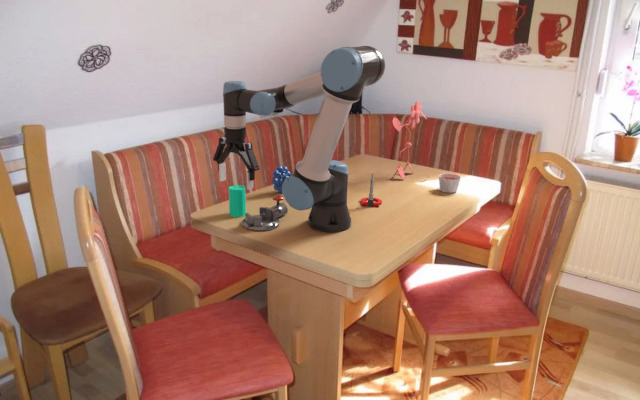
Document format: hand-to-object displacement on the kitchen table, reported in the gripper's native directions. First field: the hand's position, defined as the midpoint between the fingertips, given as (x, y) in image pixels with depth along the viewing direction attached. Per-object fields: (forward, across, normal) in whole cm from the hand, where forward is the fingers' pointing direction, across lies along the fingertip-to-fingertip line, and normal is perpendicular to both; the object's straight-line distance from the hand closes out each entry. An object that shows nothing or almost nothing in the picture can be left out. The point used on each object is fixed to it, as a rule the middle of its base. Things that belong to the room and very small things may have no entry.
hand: (236, 184), depth 197 cm
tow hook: (+11, -33, -42) cm, 54 cm away
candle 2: (+11, -51, -76) cm, 92 cm away
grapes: (+12, +1, -29) cm, 31 cm away
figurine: (+11, -30, -83) cm, 89 cm away
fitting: (+11, -14, -1) cm, 18 cm away
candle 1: (+12, -1, 0) cm, 12 cm away
